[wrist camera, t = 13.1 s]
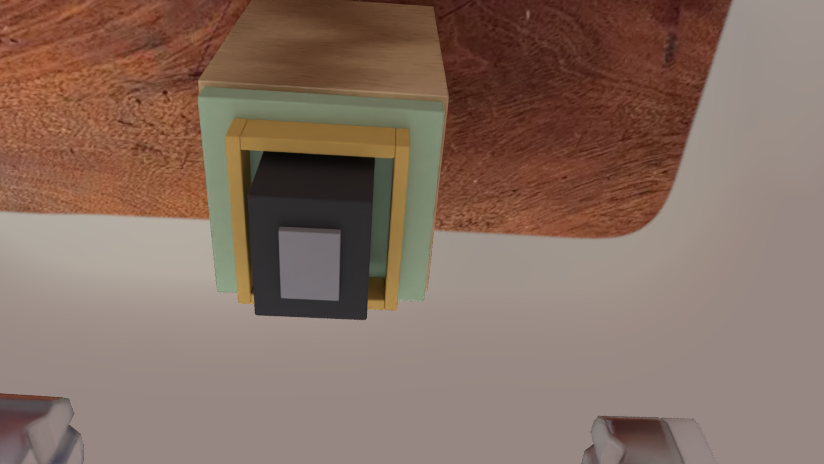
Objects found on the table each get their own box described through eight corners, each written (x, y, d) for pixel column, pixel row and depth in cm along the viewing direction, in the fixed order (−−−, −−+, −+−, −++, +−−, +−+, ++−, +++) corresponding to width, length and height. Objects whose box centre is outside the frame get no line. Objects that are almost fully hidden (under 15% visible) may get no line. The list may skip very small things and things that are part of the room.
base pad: (443, 101, 25) (447, 130, 23) (423, 287, 30) (425, 325, 27) (203, 85, 24) (185, 114, 22) (222, 278, 29) (208, 316, 27)
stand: (433, 6, 35) (449, 96, 25) (419, 163, 40) (427, 291, 30) (255, -7, 34) (197, 80, 24) (263, 154, 39) (217, 281, 29)
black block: (375, 152, 25) (372, 207, 22) (369, 263, 28) (366, 326, 24) (264, 146, 25) (245, 200, 21) (269, 258, 27) (253, 321, 24)
